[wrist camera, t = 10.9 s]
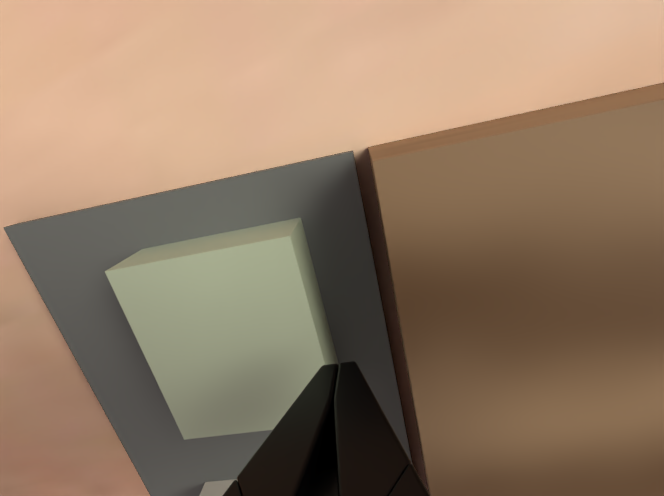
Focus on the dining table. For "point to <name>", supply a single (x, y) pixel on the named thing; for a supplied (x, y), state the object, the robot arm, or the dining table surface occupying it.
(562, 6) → the dining table surface
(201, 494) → the tile cream
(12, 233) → the mat
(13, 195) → the dining table surface
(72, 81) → the dining table surface
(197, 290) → the tile sage
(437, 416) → the deck
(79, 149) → the dining table surface
